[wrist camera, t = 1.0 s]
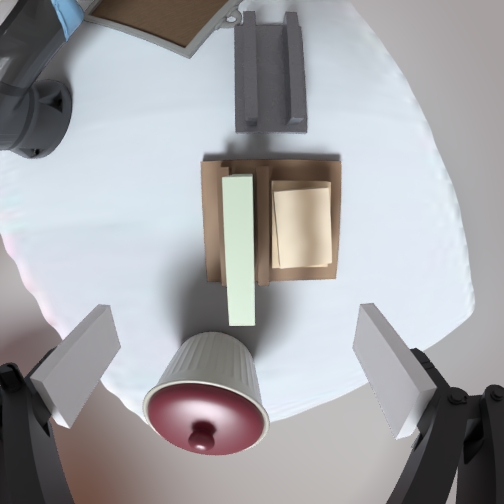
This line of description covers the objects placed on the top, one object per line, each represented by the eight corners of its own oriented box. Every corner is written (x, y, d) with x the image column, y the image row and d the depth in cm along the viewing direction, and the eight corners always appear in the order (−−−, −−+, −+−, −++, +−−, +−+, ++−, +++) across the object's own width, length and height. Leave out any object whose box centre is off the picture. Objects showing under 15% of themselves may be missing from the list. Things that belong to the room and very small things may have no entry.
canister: (165, 309, 46) (119, 394, 26) (270, 318, 46) (280, 414, 26) (172, 384, 51) (146, 466, 31) (260, 392, 52) (263, 480, 31)
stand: (236, 133, 38) (232, 125, 30) (235, 29, 32) (231, 6, 25) (305, 133, 38) (316, 126, 30) (299, 30, 32) (307, 8, 25)
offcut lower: (271, 262, 42) (272, 268, 39) (270, 180, 38) (271, 181, 36) (323, 261, 42) (327, 266, 39) (326, 181, 38) (331, 182, 36)
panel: (237, 269, 42) (229, 325, 27) (234, 174, 38) (222, 177, 23) (254, 268, 42) (255, 325, 27) (252, 173, 38) (252, 176, 23)
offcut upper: (278, 262, 39) (280, 268, 37) (272, 190, 36) (273, 192, 34) (327, 257, 39) (331, 263, 36) (323, 186, 36) (328, 187, 34)
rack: (208, 278, 44) (203, 292, 39) (202, 161, 39) (194, 160, 34) (333, 275, 44) (343, 289, 39) (338, 161, 39) (350, 160, 33)
